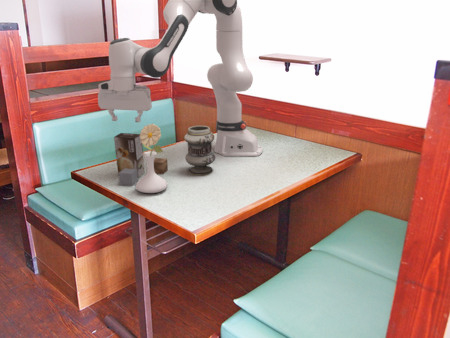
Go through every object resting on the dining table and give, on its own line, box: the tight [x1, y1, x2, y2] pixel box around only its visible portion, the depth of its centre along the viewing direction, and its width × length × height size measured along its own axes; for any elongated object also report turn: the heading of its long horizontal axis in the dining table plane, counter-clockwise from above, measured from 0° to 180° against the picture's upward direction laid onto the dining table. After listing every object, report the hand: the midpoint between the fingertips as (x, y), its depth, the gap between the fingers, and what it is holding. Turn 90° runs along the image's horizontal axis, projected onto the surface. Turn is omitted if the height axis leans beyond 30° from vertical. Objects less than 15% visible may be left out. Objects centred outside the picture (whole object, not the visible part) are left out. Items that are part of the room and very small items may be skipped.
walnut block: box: [154, 157, 169, 175], centre depth 167 cm, size 5×5×5 cm
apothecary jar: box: [183, 125, 216, 176], centre depth 165 cm, size 12×12×18 cm
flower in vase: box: [135, 123, 169, 194], centre depth 146 cm, size 13×11×25 cm
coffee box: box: [113, 132, 146, 178], centre depth 163 cm, size 9×6×16 cm
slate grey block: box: [118, 168, 139, 187], centre depth 156 cm, size 5×5×5 cm
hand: (126, 121), depth 158 cm, fingers open, 8 cm apart
